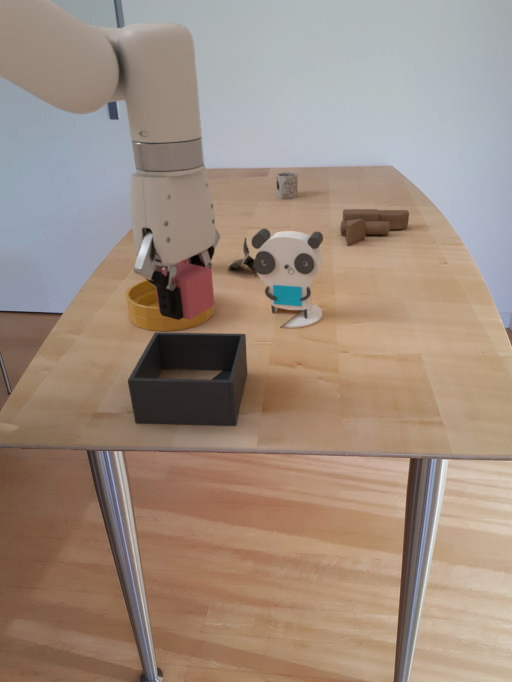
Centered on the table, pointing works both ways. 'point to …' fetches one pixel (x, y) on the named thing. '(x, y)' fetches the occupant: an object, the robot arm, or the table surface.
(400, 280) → the table surface
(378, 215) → the wooden block set
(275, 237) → the panda figurine
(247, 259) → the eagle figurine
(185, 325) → the bowl
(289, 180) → the mug
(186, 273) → the block
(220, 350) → the bin
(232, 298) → the table surface
